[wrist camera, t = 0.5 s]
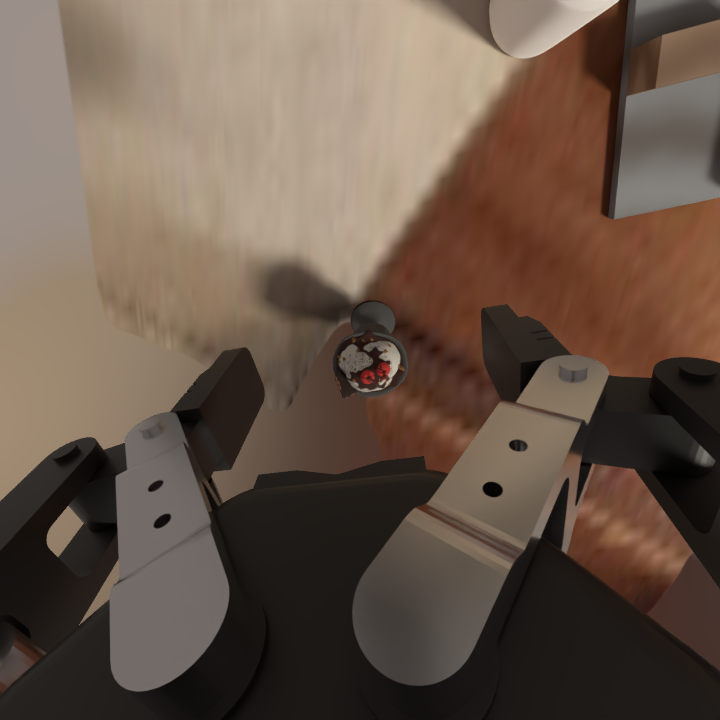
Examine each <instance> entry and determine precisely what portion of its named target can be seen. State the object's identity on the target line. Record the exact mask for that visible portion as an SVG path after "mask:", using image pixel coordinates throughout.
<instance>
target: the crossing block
mask: <svg viewBox="0 0 720 720" xmlns="http://www.w3.org/2000/svg"><path fill="white" fill-rule="evenodd" d="M719 197H720V0H629V2H628V13H627V23H626V34H625V45H624V55H623V66H622V76H621V87H620V98H619V108H618V119H617V130H616V140H615V151H614V161H613V172H612V183H611V193H610V204H609V215H608V218H611V219H618V218H623V217H628V216H633V215H638V214H642V213H647V212H652V211H657V210H662V209H666V208H671V207H676V206H681V205H686V204H690V203H695V202H700V201H705V200H710V199H715V198H719Z"/></svg>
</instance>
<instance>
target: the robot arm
mask: <svg viewBox="0 0 720 720" xmlns="http://www.w3.org/2000/svg"><path fill="white" fill-rule="evenodd" d="M481 322H482V345H483V358H484V363H485V367H486V370H487V372H488V374H489V376H490V378H491V380H492V382H493V384H494V386H495V388H496V390H497V392H498V394H499V396H500V398H501V400H502V401H501V402H500V403H499V405H498V406H497V407H496V409H495V410H494V411H493V413H492V414H491V416H490V417H489V418H488V420H487V421H486V423H485V424H484V425H483V427H482V428H481V430H480V431H479V432H478V434H477V435H476V437H475V438H474V439H473V441H472V442H471V444H470V445H469V446H468V448H467V449H466V451H465V452H464V453H463V455H462V456H461V458H460V459H459V460H458V462H457V463H456V465H455V466H454V467H453V469H452V470H451V472H450V473H449V474H447V473H444V472H439V471H434V470H426V466H425V460H424V456H422V457H413V458H404V459H395V460H386V461H380V462H377V463H373V464H370V465H367V466H364V467H361V468H357V469H354V470H351V471H348V472H345V473H341V474H325V473H316V472H307V471H288V472H279V473H270V474H262V475H258V477H257V480H256V483H255V485H254V488H253V489H250V490H248V491H245V492H243V493H241V494H239V495H237V496H235V497H233V498H231V499H229V500H228V501H226V502H223V500H222V497H221V495H220V493H219V490H218V488H217V486H216V483H215V481H214V480H213V478H212V476H211V475H212V473H213V472H214V471H222V470H230V469H231V468H232V466H233V464H234V462H235V460H236V458H237V456H238V454H239V452H240V450H241V447H242V445H243V443H244V441H245V439H246V437H247V435H248V433H249V431H250V429H251V426H252V424H253V422H254V420H255V418H256V416H257V414H258V412H259V410H260V408H261V406H262V404H263V401H264V396H265V393H264V386H263V383H262V381H261V378H260V376H259V373H258V371H257V368H256V366H255V363H254V361H253V358H252V356H251V353H250V352H249V350H248V349H247V348H245V347H244V348H238V349H232V350H226V351H223V352H222V353H221V355H220V356H219V357H218V358H217V360H216V361H215V362H214V363H213V365H212V366H211V367H210V368H209V369H208V370H206V371H205V372H204V373H202V374H201V375H200V376H199V377H198V379H196V381H195V382H194V383H193V385H192V386H191V387H190V388H189V389H188V391H187V393H185V394H184V395H183V397H182V398H181V399H180V400H179V401H178V403H177V404H176V405H175V406H174V408H173V409H172V410H171V411H170V412H165V413H160V414H157V415H154V416H152V417H149V418H147V419H145V420H143V421H142V422H140V423H139V424H137V425H136V426H135V427H133V428H132V429H131V430H130V431H129V432H128V434H127V435H126V437H125V443H123V444H120V445H117V446H114V447H111V448H108V449H105V450H103V449H102V448H101V446H100V445H99V443H98V442H97V441H96V439H95V438H91V437H87V438H82V439H78V440H75V441H73V442H70V443H68V444H66V445H64V446H62V447H60V448H59V449H57V450H56V451H54V452H53V453H52V454H50V455H49V456H47V457H46V458H45V459H44V460H43V461H42V462H41V463H40V464H39V465H38V466H37V467H36V468H35V469H34V470H33V471H31V472H30V473H29V474H28V475H27V476H26V477H25V478H24V479H23V480H22V481H21V482H20V483H19V484H18V485H17V486H16V487H15V488H14V489H13V490H12V491H11V492H10V493H9V494H7V495H6V496H5V497H4V498H3V499H2V500H1V501H0V720H720V671H719V670H718V669H717V668H716V667H715V666H713V665H712V664H711V663H710V662H709V661H708V660H706V659H705V658H704V657H703V656H701V655H700V654H699V653H698V652H696V651H695V650H694V649H692V648H691V647H690V646H689V645H687V644H686V643H684V642H683V641H682V640H680V639H679V638H678V637H676V636H675V635H674V634H672V633H671V632H670V631H668V630H667V629H666V628H664V627H663V626H662V625H660V624H659V623H658V622H656V621H655V620H654V619H652V618H651V617H650V616H648V615H647V614H646V613H644V612H643V611H642V610H640V609H639V608H638V607H636V606H635V605H634V604H632V603H631V602H630V601H628V600H627V599H626V598H624V597H623V596H622V595H620V594H619V593H618V592H616V591H615V590H614V589H612V588H611V587H610V586H608V585H607V584H606V583H604V582H603V581H602V580H600V579H599V578H598V577H596V576H595V575H594V574H592V573H591V572H590V571H588V570H587V569H586V568H584V567H583V566H582V565H580V564H579V563H578V562H576V561H575V560H574V559H572V558H571V557H570V556H568V555H567V551H568V547H569V543H570V539H571V535H572V530H573V526H574V523H575V519H576V516H577V514H578V511H579V508H580V505H581V503H582V500H583V497H584V494H585V491H586V489H587V486H588V483H589V480H590V478H591V475H592V472H593V469H594V466H595V464H600V465H608V466H616V467H623V468H631V469H635V470H636V472H637V473H638V475H639V476H640V478H641V479H642V480H643V482H644V483H645V485H646V486H647V487H648V489H649V490H650V492H651V493H652V494H653V496H654V497H655V499H656V500H657V501H658V503H659V504H660V506H661V507H662V508H663V510H664V511H665V513H666V514H667V515H668V517H669V518H670V520H671V521H672V522H673V524H674V525H675V527H676V528H677V530H678V531H679V532H680V534H681V535H682V537H683V538H684V539H685V541H686V542H687V544H688V545H689V546H690V548H691V549H692V551H693V552H694V553H695V555H696V556H697V558H698V559H699V560H700V562H701V563H702V565H703V566H704V567H705V569H706V570H707V572H708V573H709V574H710V576H711V577H712V579H713V580H714V581H715V583H716V584H717V586H718V587H719V588H720V363H718V362H714V361H711V360H706V359H700V358H689V357H679V358H670V359H666V360H663V361H660V362H659V363H657V364H656V365H655V366H654V369H653V373H652V378H640V377H619V376H610V375H609V372H608V369H607V368H606V367H605V366H604V365H603V364H602V363H600V362H598V361H596V360H594V359H591V358H588V357H583V356H576V355H571V354H570V353H569V351H568V350H567V349H566V348H565V347H564V346H563V345H562V344H561V343H560V342H559V341H558V340H557V339H556V338H554V336H553V335H552V334H551V333H550V332H549V331H548V329H547V328H546V327H545V326H544V325H543V324H542V323H541V322H539V321H537V320H535V319H532V318H530V317H528V316H525V317H518V316H517V315H516V314H515V313H514V312H513V310H512V309H511V308H510V307H509V306H508V305H507V304H505V305H499V306H493V307H487V308H482V311H481ZM67 506H69V507H70V508H71V509H72V510H73V511H74V512H75V514H76V515H77V516H78V517H79V518H80V519H81V520H82V522H84V524H83V525H82V527H81V528H80V529H79V531H78V532H77V533H76V535H75V536H74V537H73V539H72V540H71V541H70V543H69V544H68V545H67V547H66V548H65V549H64V551H63V552H62V553H61V555H60V556H59V557H57V556H56V555H55V554H54V553H53V552H52V551H51V550H50V549H49V548H48V546H47V541H46V539H47V533H48V531H49V528H50V527H51V526H52V524H53V523H54V522H55V521H56V520H57V518H58V517H59V516H60V515H61V514H62V512H63V511H64V510H65V509H66V507H67ZM118 559H119V581H118V582H117V583H116V584H115V585H113V587H112V589H111V592H110V599H109V600H108V601H107V602H106V603H105V604H104V605H102V606H101V607H100V608H99V609H98V610H96V611H95V612H94V613H93V614H92V615H91V616H89V617H88V618H87V619H86V620H85V621H84V622H83V623H81V624H80V622H81V621H82V619H83V617H84V615H85V614H86V612H87V611H88V609H89V607H90V606H91V604H92V602H93V601H94V599H95V597H96V596H97V594H98V592H99V590H100V589H101V587H102V585H103V583H104V582H105V580H106V579H107V577H108V575H109V574H110V572H111V570H112V569H113V567H114V565H115V564H116V562H117V560H118ZM79 624H80V625H79Z"/></svg>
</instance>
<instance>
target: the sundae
mask: <svg viewBox="0 0 720 720" xmlns="http://www.w3.org/2000/svg"><path fill="white" fill-rule="evenodd" d="M351 325H352V328H353V330H354V333H353V334H352V335H350V336H348V337H346V338H345V339H344V340H342V341H341V343H340V344H339V345H338V347H337V349H336V352H335V355H334V358H333V370H334V373H335V381H336V383H337V386H338V388H339V390H340V392H341V394H342V396H343V398H345V399H346V398H347V397H350V396H351V395H353V394H357V395H360V396H363V397H378V396H382V395H384V394H387V393H389V392H390V391H392V390H393V389H395V388H396V387H398V386H399V385H400V384H401V383H402V382H403V380H404V379H405V377H406V375H407V370H408V359H407V355H406V352H405V349H404V348H403V346H402V344H401V343H400V342H399V341H398V340H397V339H395V338H394V337H392V336H391V333H392V331H393V329H394V327H395V317H394V314H393V312H392V310H391V309H390V308H389V307H388V306H387V305H385V304H383V303H381V302H377V301H369V302H365V303H363V304H361V305H360V306H358V307H357V308H356V309H355V311H354V313H353V315H352V319H351Z"/></svg>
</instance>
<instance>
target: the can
mask: <svg viewBox="0 0 720 720" xmlns="http://www.w3.org/2000/svg"><path fill="white" fill-rule="evenodd" d="M618 1H619V0H490V7H489V19H490V27H491V32H492V35H493V37H494V40H495V41H496V43H497V45H498V46H499V47H500V48H501V49H502V50H503V51H504V52H505V53H506V54H508V55H510V56H512V57H515V58H531V57H535V56H537V55H540V54H542V53H544V52H545V51H547V50H549V49H550V48H552V47H553V46H555V45H556V44H558V43H559V42H561V41H562V40H563V39H565V38H566V37H568V36H569V35H571V34H572V33H574V32H575V31H577V30H578V29H580V28H581V27H583V26H584V25H585V24H587V23H588V22H590V21H591V20H593V19H594V18H596V17H597V16H598V15H600V14H601V13H603V12H604V11H606V10H607V9H608V8H610V7H611V6H613V5H614V4H615V3H617V2H618Z"/></svg>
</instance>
